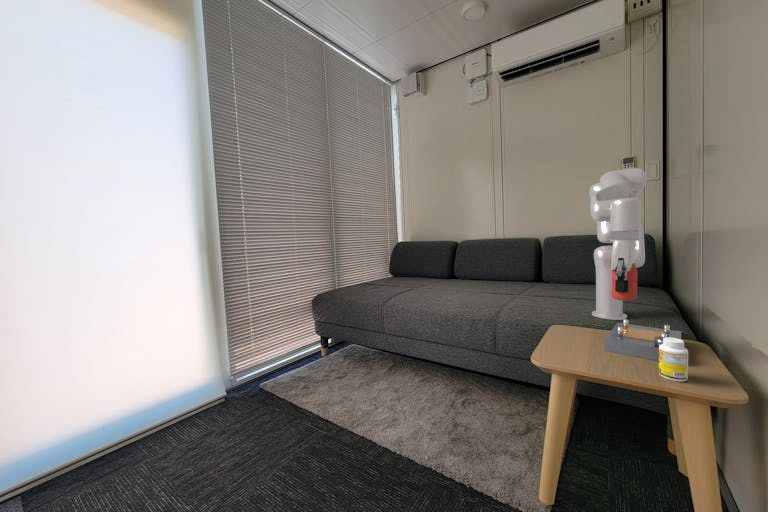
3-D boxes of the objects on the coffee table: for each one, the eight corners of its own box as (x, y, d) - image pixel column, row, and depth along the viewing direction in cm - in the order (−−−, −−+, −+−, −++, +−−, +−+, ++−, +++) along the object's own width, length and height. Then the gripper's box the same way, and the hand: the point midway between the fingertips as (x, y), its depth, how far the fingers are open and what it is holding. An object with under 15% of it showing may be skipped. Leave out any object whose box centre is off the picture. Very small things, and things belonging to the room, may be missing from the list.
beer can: (627, 296, 102) (628, 261, 101) (642, 301, 95) (642, 263, 94) (607, 296, 103) (607, 262, 102) (619, 301, 96) (620, 264, 95)
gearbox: (618, 330, 114) (619, 313, 114) (681, 340, 102) (681, 321, 101) (604, 350, 97) (604, 329, 97) (677, 365, 85) (677, 341, 84)
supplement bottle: (665, 370, 82) (665, 334, 81) (692, 379, 77) (693, 341, 76) (653, 375, 80) (654, 338, 79) (681, 384, 75) (682, 345, 74)
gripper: (616, 235, 106) (616, 284, 107) (603, 238, 94) (603, 293, 96) (644, 234, 100) (643, 287, 102) (634, 237, 89) (633, 296, 90)
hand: (624, 289), depth 99 cm, fingers closed on beer can, 6 cm apart
